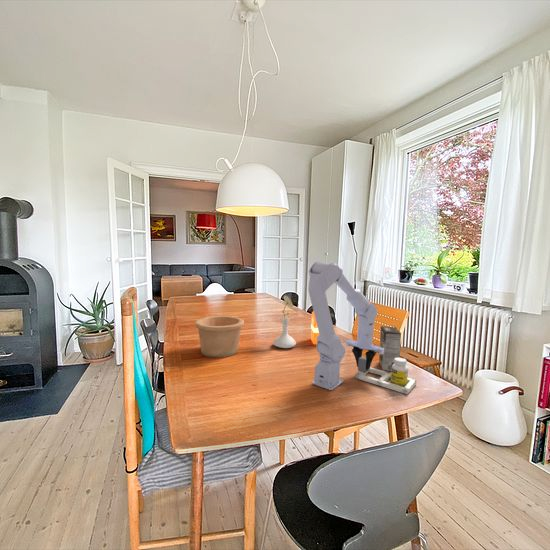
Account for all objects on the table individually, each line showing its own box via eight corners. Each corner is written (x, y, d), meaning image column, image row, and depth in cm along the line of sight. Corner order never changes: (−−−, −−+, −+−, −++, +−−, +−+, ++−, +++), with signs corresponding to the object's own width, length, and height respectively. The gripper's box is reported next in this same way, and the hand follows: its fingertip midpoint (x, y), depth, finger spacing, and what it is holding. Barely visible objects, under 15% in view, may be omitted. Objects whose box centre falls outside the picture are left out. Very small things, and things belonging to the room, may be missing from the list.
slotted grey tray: (407, 394, 103) (408, 375, 102) (353, 377, 115) (354, 360, 114) (416, 383, 111) (417, 366, 110) (364, 369, 123) (365, 353, 122)
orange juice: (313, 344, 154) (314, 305, 152) (310, 338, 163) (311, 302, 161) (328, 344, 154) (330, 305, 152) (325, 339, 163) (326, 302, 161)
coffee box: (378, 362, 132) (380, 325, 130) (393, 363, 131) (396, 326, 129) (382, 370, 123) (384, 331, 121) (399, 371, 122) (401, 332, 120)
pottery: (237, 342, 154) (238, 314, 153) (248, 357, 133) (248, 325, 132) (194, 345, 147) (193, 316, 146) (197, 362, 127) (197, 328, 125)
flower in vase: (297, 350, 144) (298, 298, 141) (273, 350, 144) (274, 298, 141) (295, 341, 157) (296, 294, 154) (273, 341, 157) (274, 293, 154)
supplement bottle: (388, 385, 110) (389, 359, 109) (394, 380, 113) (396, 355, 112) (403, 390, 106) (404, 363, 105) (409, 385, 109) (411, 359, 109)
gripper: (387, 335, 115) (385, 369, 116) (352, 327, 124) (350, 359, 125) (380, 339, 110) (378, 375, 111) (344, 331, 119) (342, 364, 120)
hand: (363, 367), depth 118 cm, fingers closed on slotted grey tray, 3 cm apart
